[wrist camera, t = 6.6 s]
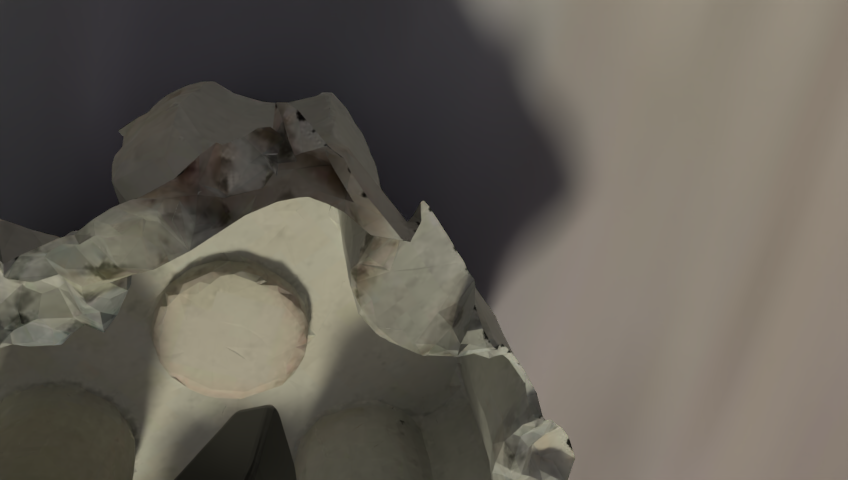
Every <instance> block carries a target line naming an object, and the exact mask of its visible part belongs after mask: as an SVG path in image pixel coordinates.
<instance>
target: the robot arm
mask: <svg viewBox="0 0 848 480" xmlns="http://www.w3.org/2000/svg"><path fill="white" fill-rule="evenodd" d="M174 480H297V479H296V472H295V466H294V462H293V458H292V455H291V452H290V448H289V445H288V442H287V438H286V435H285V432H284V429H283V425H282V422H281V419H280V415H279V413H278V411H277V409H276V408H275V407H274V406H273V405H263V406H258V407H253V408H247V409H242V410H239V411H237V412H235V413H234V414H233V415H232V416H231V417H230V418H229V419H228V421H227V422H226V423H225V424H224V425H223V426H222V427H221V428H220V429H219V430H218V432H217V433H216V434H215V435H214V436H213V437H212V438H211V439H210V440H209V442H208V443H207V444H206V445H205V446H204V447H203V448H202V449H201V450H200V451H199V453H198V454H197V455H196V456H195V457H194V458H193V459H192V460H191V461H190V462H189V464H188V465H187V466H186V467H185V468H184V469H183V470H182V471H181V472H180V473H179V475H178V476H177V477H176V478H175V479H174Z"/></svg>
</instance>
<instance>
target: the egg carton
mask: <svg viewBox="0 0 848 480" xmlns="http://www.w3.org/2000/svg"><path fill="white" fill-rule="evenodd" d="M119 132H120V133H121V135H122V136H123V137H124V138H123V146H122V148H121V149H120V150H119V151H118V153H117V154H116V155H115V157H114V160H113V163H112V184H113V187H114V190H115V192H116V195H117V198H118V201H119V205H117V206H114V207H113V208H111V209H109V210H107V211H106V212H104V213H102V214H101V215H99V216H97V217H96V218H94V219H93V220H91V221H90V222H89V223H88V224H86V225H85V226H84V227H83V228H81V229H80V230H78V231H72V232H70V233H69V234H67V235H66V236H64V237H58V236H55V235H49V234H45V233H43V232H39V231H35V230H31V229H28V228H25V227H22V226H20V225H17V224H14V223H11V222H8V221H5V220H2V219H0V480H174V479H175V478H176V477H177V476H178V475H179V473H180V472H181V471H182V470H183V469H184V468H185V467H186V466H187V465H188V464H189V462H190V461H191V460H192V459H193V458H194V457H195V456H196V455H197V454H198V453H199V451H200V450H201V449H202V448H203V447H204V446H205V445H206V444H207V443H208V442H209V440H210V439H211V438H212V437H213V436H214V435H215V434H216V433H217V432H218V430H219V429H220V428H221V427H222V426H223V425H224V424H225V423H226V422H227V421H228V419H229V418H230V417H231V416H232V415H233V414H234V413H235V412H237V411H239V410H242V409H247V408H253V407H258V406H263V405H273V406H274V407H275V408H276V409H277V411H278V413H279V415H280V419H281V422H282V425H283V429H284V432H285V435H286V438H287V442H288V445H289V448H290V452H291V455H292V458H293V462H294V466H295V472H296V479H297V480H568V477H569V474H570V471H571V468H572V465H573V462H574V460H575V456H574V453H573V450H572V447H571V443H570V440H569V438H568V436H567V435H566V433H565V432H564V430H563V429H562V428H561V427H559V426H558V425H556V424H555V423H554V422H553V421H551V420H545V419H544V418H543V416H542V413H541V409H540V405H539V401H538V397H537V393H536V391H535V390H534V388H533V386H532V384H531V382H530V380H529V379H528V377H527V375H526V373H525V371H524V370H523V368H522V367H521V365H520V364H519V362H518V361H517V360H516V358H515V357H514V355H513V353H512V351H511V349H510V347H509V345H508V343H507V341H506V339H505V337H504V335H503V333H502V331H501V328H500V326H499V324H498V322H497V319H496V317H495V315H494V313H493V312H492V310H491V309H490V308H489V306H488V305H487V303H486V302H485V301H484V299H483V298H482V296H481V295H480V293H479V292H478V291H477V289H476V288H475V280H474V278H473V277H472V276H471V275H470V273H469V272H468V270H467V268H466V265H465V263H464V261H463V259H462V258H461V256H460V255H459V253H458V252H457V250H456V249H455V247H454V245H453V243H452V242H451V240H450V238H449V237H448V235H447V233H446V232H445V230H444V229H443V227H442V226H441V224H440V223H439V221H438V219H437V218H436V216H435V215H434V213H433V212H432V210H431V209H430V207H429V206H428V205H427V204H426V203H425V202H424V201H422V202H421V203H420V204H419V206H418V208H417V210H416V212H415V213H414V215H413V216H412V217H411V219H410V220H409V221H408V222H407V221H406V220H405V219H404V217H403V216H402V215H401V214H400V212H399V211H398V210H397V209H396V207H395V206H394V205H393V204H392V202H391V201H390V200H389V199H388V197H387V196H386V195H385V194H384V192H383V191H382V190H381V187H380V182H379V177H378V173H377V169H376V164H375V162H374V160H373V158H372V156H371V154H370V150H369V147H368V145H367V143H366V141H365V138H364V136H363V134H362V132H361V131H360V129H359V128H358V127H357V125H356V124H355V123H354V121H353V119H352V117H351V115H350V114H349V112H348V110H347V108H346V107H345V106H344V105H343V104H342V103H341V102H340V101H339V100H338V98H337V97H336V96H335V95H334V94H333V93H321V94H319V95H317V96H314V97H310V98H305V99H301V100H297V101H292V102H288V103H286V102H276V103H270V102H262V101H258V100H255V99H252V98H248V97H245V96H241V95H238V94H235V93H232V92H231V91H229V90H228V89H226V88H224V87H223V86H221V85H219V84H218V83H216V82H214V81H208V82H198V83H195V84H191V85H187V86H185V87H183V88H181V89H179V90H177V91H174V92H172V93H170V94H168V95H166V96H165V97H164V98H163V99H161V100H160V101H159V102H158V103H157V104H155V105H154V106H153V107H152V108H151V110H150V111H149V112H148V113H146V114H144V115H142V116H140V117H138V118H136V119H135V120H133V121H132V122H130V123H129V124H127V125H126V126H125V127H123V128H122V129H120V130H119Z"/></svg>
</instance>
